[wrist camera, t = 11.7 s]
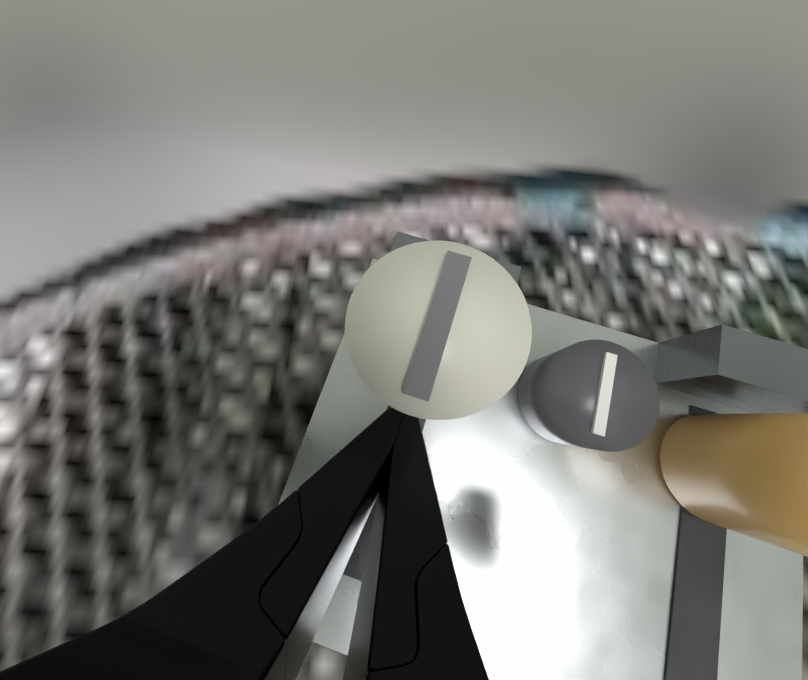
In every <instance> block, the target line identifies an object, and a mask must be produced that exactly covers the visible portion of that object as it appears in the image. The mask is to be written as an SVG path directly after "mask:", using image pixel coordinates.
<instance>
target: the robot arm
mask: <svg viewBox="0 0 808 680" xmlns="http://www.w3.org/2000/svg"><path fill="white" fill-rule="evenodd" d="M378 493H379V494H378ZM377 496H378V498H377ZM376 498H377V503H376V509H375V514H374V519H373V524H372V530H371V535H370V540H369V545H368V551H367V556H366V561H365V567H364V572H363V577H362V582H361V588H360V593H359V598H358V603H357V609H356V614H355V619H354V625H353V630H352V635H351V640H350V646H349V651H348V656H347V661H346V667H345V672H344V677H343V680H489V678H488V675H487V672H486V669H485V666H484V663H483V660H482V657H481V654H480V651H479V648H478V645H477V642H476V639H475V636H474V633H473V630H472V627H471V624H470V621H469V618H468V615H467V611H466V608H465V605H464V602H463V599H462V595H461V592H460V588H459V584H458V580H457V577H456V573H455V569H454V565H453V561H452V557H451V552H450V548H449V545H448V544H447V542H448V540H447V536H446V532H445V527H444V523H443V519H442V514H441V510H440V506H439V502H438V497H437V493H436V489H435V484H434V480H433V476H432V472H431V467H430V463H429V459H428V454H427V450H426V446H425V442H424V437H423V433H422V429H421V424H420V420H419V418H418V417H414V416H410V415H407V414H405V413H402V412H400V411H398V410H396V409H394V408H392V407H389V408H388V409H387V410H386V411H384V412H383V413H382V414H381V415H380V416H379V417H378V418H376V419H375V420H374V421H373V422H372V423H371V424H370V425H369V426H367V427H366V428H365V429H364V430H363V431H362V432H361V433H360V434H358V435H357V436H356V437H355V438H354V439H353V440H352V441H350V442H349V443H348V444H347V445H346V446H345V447H344V448H343V449H341V450H340V451H339V452H338V453H337V454H336V455H335V456H333V457H332V458H331V459H330V460H329V461H328V462H327V463H326V464H324V465H323V466H322V467H321V468H320V469H319V470H318V471H316V472H315V473H314V474H313V475H312V476H311V477H310V478H309V479H307V480H306V481H305V482H304V483H303V484H302V485H301V486H299V487H298V491H297V490H295V491H294V492H292V493H291V494H290V495H289V496H288V497H287V498H286V499H285V500H283V501H282V502H281V503H280V504H279V505H277V506H276V507H275V508H274V509H273V510H271V511H270V512H269V513H268V514H267V515H265V516H264V517H263V518H262V519H261V520H259V521H258V522H257V523H255V524H254V525H253V526H251V527H250V528H249V529H247V530H246V531H245V532H243V533H242V534H241V535H239V536H238V537H237V538H235V539H234V540H233V541H231V542H230V543H229V544H227V545H226V546H224V547H223V548H222V549H220V550H219V551H217V552H216V553H215V554H213V555H212V556H210V557H209V558H208V559H206V560H205V561H203V562H202V563H201V564H199V565H198V566H196V567H195V568H194V569H192V570H191V571H189V572H188V573H187V574H185V575H184V576H182V577H181V578H180V579H178V580H177V581H175V582H174V583H173V584H171V585H170V586H168V587H167V588H166V589H164V590H163V591H161V592H160V593H158V594H157V595H155V596H154V597H153V598H151V599H150V600H148V601H146V602H145V603H143V604H142V605H140V606H139V607H137V608H135V609H134V610H132V611H130V612H128V613H127V614H125V615H123V616H122V617H120V618H118V619H116V620H114V621H112V622H110V623H108V624H106V625H104V626H102V627H100V628H98V629H95V630H93V631H91V632H89V633H86V634H84V635H82V636H80V637H77V638H75V639H73V640H71V641H68V642H66V643H64V644H62V645H59V646H57V647H55V648H52V649H50V650H48V651H46V652H43V653H41V654H39V655H37V656H34V657H32V658H30V659H28V660H25V661H23V662H21V663H19V664H16V665H14V666H12V667H10V668H7V669H5V670H3V671H1V672H0V680H295V679H296V676H297V674H298V672H299V670H300V667H301V665H302V663H303V661H304V659H305V656H306V654H307V652H308V650H309V647H310V645H311V643H312V641H313V639H314V636H315V634H316V632H317V630H318V627H319V625H320V623H321V621H322V619H323V616H324V614H325V612H326V610H327V607H328V605H329V603H330V601H331V598H332V596H333V594H334V592H335V590H336V587H337V585H338V583H339V581H340V578H341V576H342V574H343V572H344V570H345V567H346V565H347V563H348V561H349V558H350V556H351V554H352V552H353V550H354V547H355V545H356V543H357V541H358V538H359V536H360V534H361V532H362V529H363V527H364V525H365V523H366V521H367V518H368V516H369V514H370V512H371V509H372V507H373V505H374V503H375V501H376Z"/></svg>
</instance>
